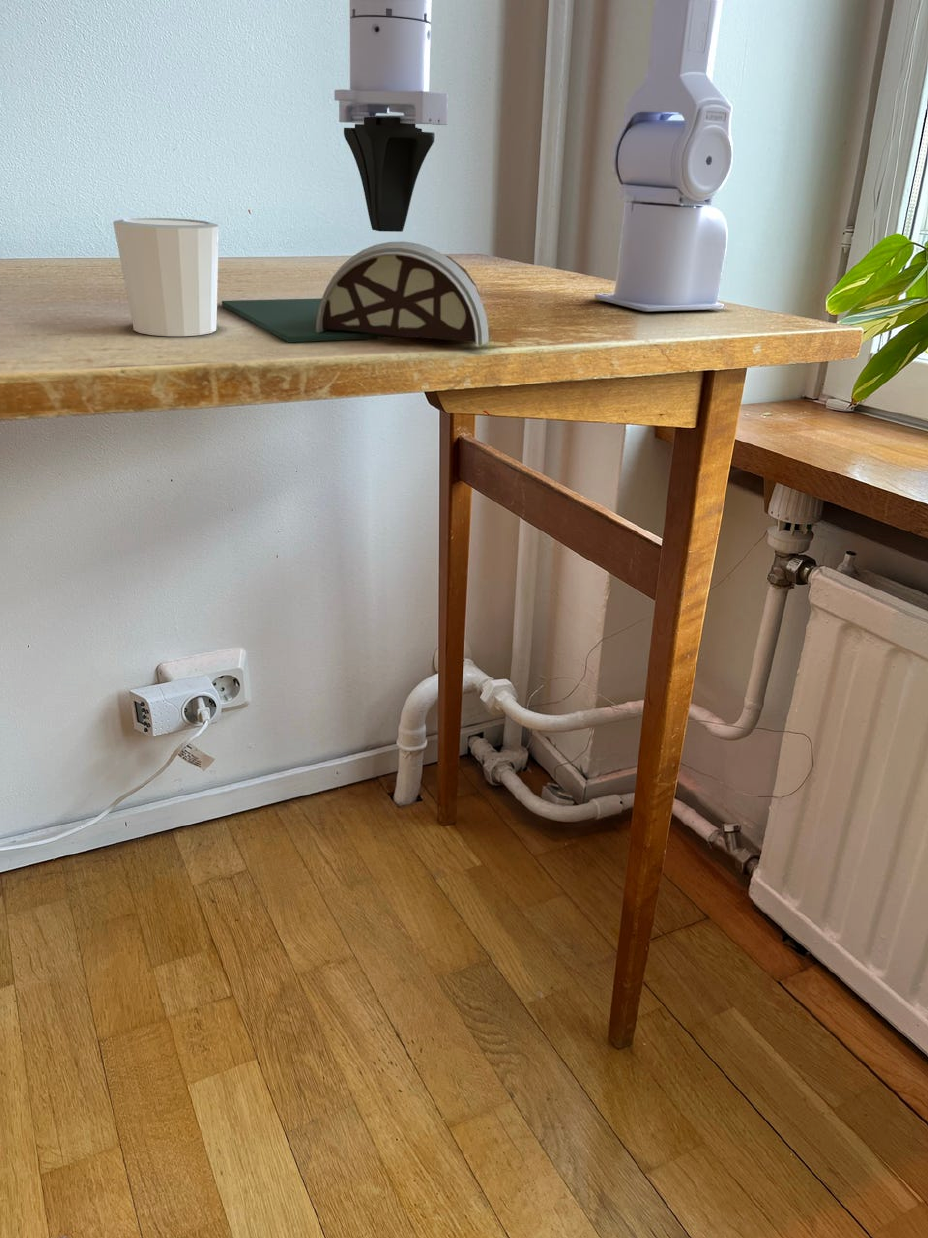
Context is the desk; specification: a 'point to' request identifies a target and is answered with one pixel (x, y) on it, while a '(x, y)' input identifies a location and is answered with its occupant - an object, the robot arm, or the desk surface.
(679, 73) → the robot arm
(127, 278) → the white cup
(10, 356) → the desk surface
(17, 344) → the desk surface
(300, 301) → the mat
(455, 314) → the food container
